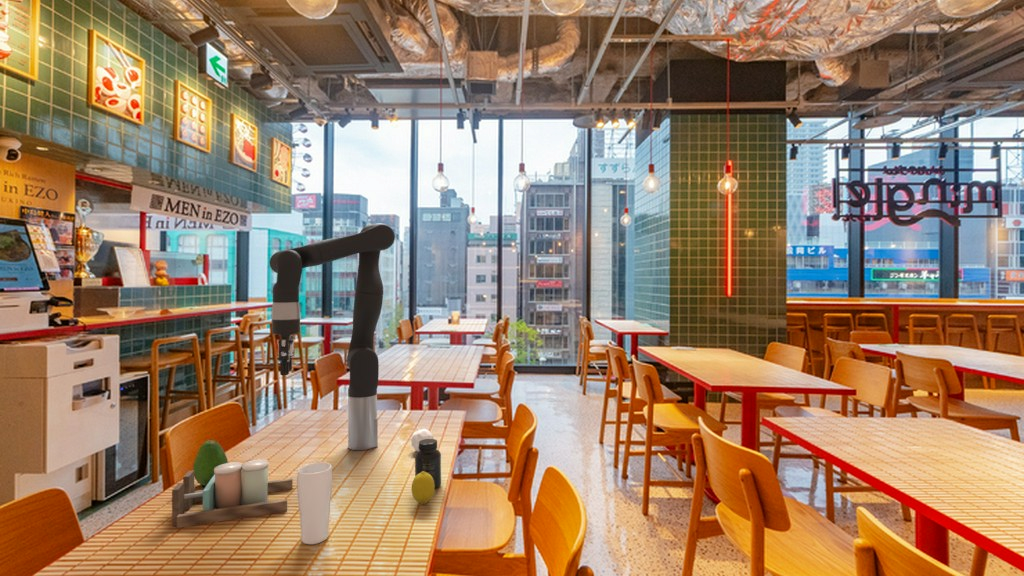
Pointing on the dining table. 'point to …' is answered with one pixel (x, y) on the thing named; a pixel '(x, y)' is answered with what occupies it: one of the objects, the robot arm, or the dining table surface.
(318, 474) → the drinking glass
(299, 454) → the dining table surface
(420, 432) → the ornament
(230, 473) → the jar
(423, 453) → the supplement bottle
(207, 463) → the fruit
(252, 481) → the sage jar
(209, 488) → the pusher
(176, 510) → the lane
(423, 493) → the lemon
